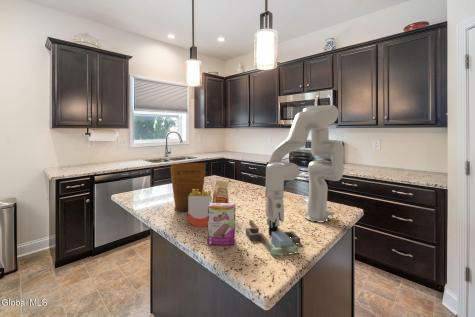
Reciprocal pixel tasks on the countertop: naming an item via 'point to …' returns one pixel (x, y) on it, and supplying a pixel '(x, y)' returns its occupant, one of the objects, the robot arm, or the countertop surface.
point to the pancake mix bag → (186, 182)
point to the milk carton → (221, 192)
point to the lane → (255, 235)
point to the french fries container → (198, 207)
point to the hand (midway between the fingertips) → (272, 235)
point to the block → (280, 239)
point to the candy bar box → (221, 224)
